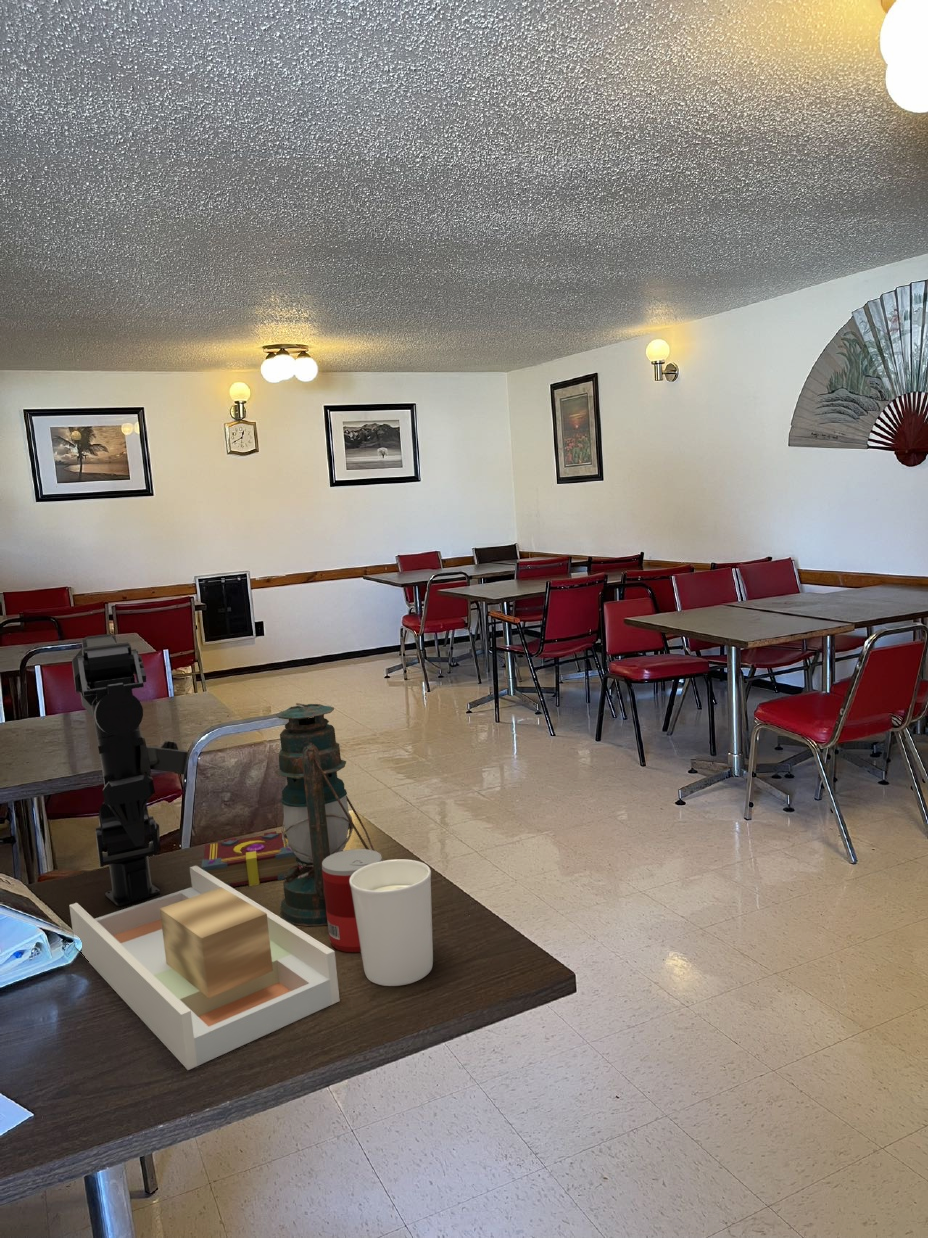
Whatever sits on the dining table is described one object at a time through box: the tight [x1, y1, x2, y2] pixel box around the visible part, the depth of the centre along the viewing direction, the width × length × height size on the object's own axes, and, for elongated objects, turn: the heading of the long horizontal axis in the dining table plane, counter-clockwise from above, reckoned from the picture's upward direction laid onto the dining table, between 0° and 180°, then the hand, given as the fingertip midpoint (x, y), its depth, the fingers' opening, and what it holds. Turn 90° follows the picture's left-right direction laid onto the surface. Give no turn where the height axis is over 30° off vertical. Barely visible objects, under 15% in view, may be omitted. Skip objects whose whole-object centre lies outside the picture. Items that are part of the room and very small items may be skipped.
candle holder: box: [349, 858, 434, 987], centre depth 109 cm, size 10×10×12 cm
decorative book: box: [201, 831, 305, 888], centre depth 145 cm, size 11×16×5 cm
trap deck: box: [69, 865, 341, 1071], centre depth 112 cm, size 40×18×6 cm, turn 39°
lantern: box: [275, 702, 376, 927], centre depth 128 cm, size 19×14×30 cm
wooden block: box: [160, 887, 273, 998], centre depth 107 cm, size 12×8×7 cm, turn 40°
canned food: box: [322, 848, 384, 953], centre depth 117 cm, size 8×8×11 cm
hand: (139, 845), depth 124 cm, fingers closed
